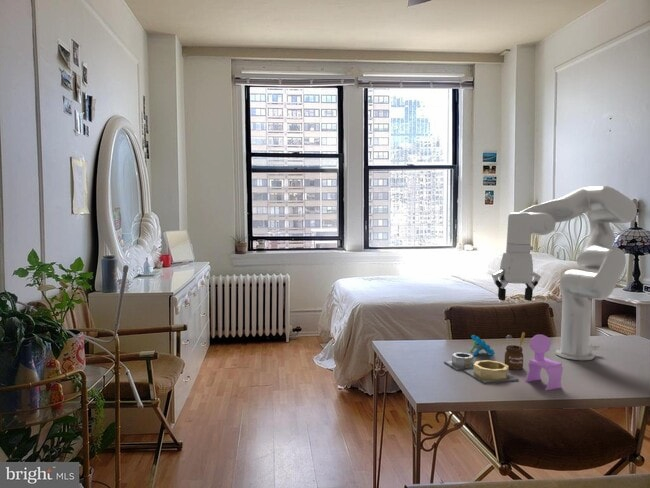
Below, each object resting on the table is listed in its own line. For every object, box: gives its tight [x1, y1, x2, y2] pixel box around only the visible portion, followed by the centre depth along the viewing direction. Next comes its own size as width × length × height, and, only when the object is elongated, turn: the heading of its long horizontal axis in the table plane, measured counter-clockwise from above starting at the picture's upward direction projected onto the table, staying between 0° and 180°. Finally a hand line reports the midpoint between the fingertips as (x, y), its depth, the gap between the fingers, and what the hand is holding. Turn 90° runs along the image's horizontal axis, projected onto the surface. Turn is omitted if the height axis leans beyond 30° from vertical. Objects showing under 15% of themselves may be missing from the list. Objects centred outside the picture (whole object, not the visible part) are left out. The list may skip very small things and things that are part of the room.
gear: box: [469, 334, 496, 357], centre depth 189 cm, size 11×6×10 cm
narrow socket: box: [444, 352, 475, 372], centre depth 176 cm, size 9×9×4 cm
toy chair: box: [524, 334, 564, 391], centre depth 158 cm, size 8×9×15 cm
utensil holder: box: [504, 331, 526, 371], centre depth 174 cm, size 6×6×12 cm
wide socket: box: [463, 359, 520, 385], centre depth 165 cm, size 12×12×4 cm
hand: (514, 300), depth 174 cm, fingers open, 9 cm apart
